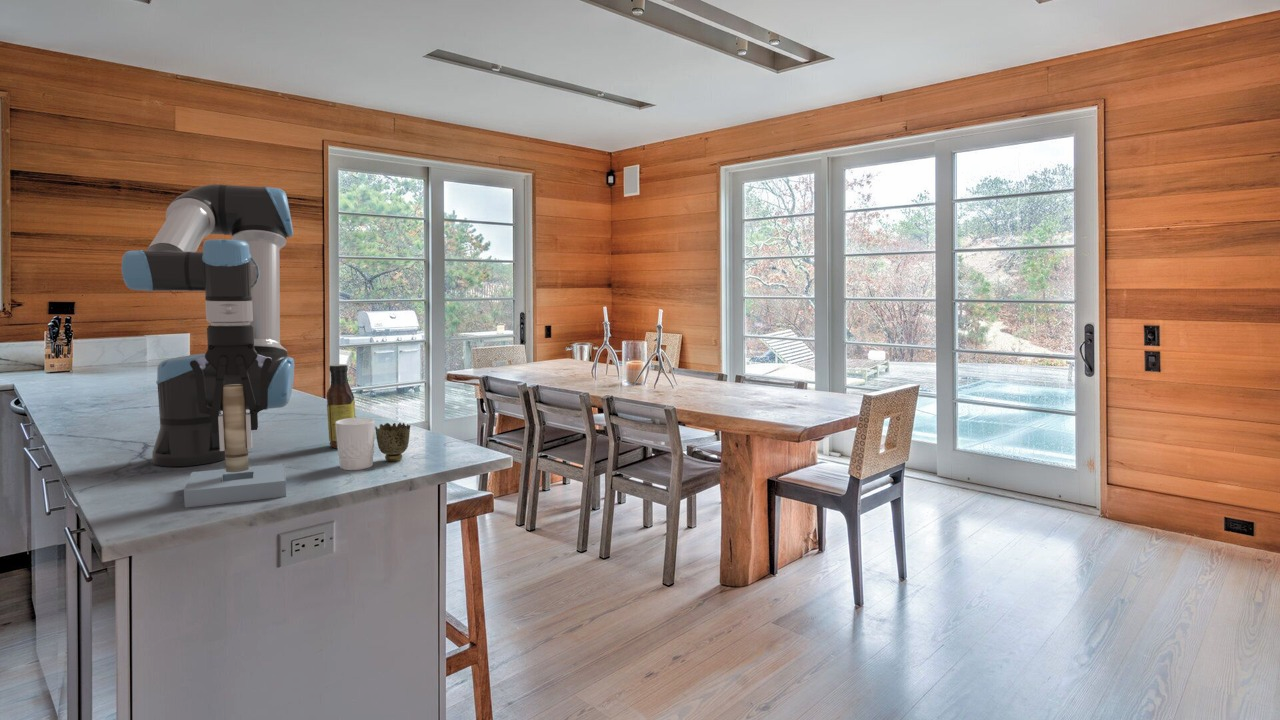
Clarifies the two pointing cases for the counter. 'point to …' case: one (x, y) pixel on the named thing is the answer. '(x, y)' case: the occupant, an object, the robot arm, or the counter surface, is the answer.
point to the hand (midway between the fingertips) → (236, 448)
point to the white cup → (355, 443)
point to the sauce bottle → (339, 400)
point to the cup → (393, 440)
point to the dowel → (235, 428)
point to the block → (235, 485)
